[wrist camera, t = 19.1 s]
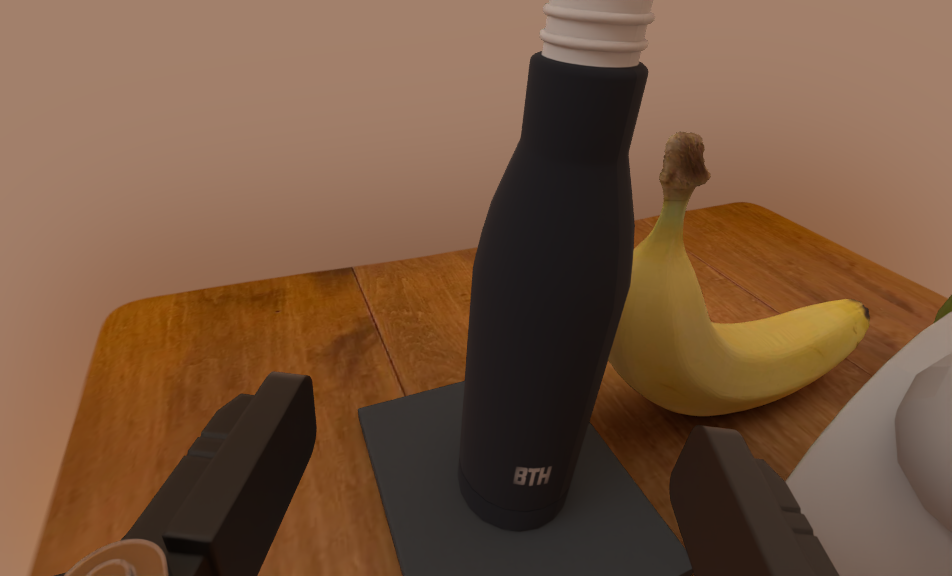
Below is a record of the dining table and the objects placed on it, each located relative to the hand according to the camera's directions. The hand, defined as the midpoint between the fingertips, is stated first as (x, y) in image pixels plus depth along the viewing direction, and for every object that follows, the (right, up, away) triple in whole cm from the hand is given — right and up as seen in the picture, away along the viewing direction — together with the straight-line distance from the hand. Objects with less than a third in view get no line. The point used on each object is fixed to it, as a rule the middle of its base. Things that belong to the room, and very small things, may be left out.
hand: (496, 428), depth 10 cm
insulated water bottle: (+2, -8, +18) cm, 20 cm away
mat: (+1, -9, +18) cm, 20 cm away
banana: (+17, -5, +25) cm, 31 cm away
